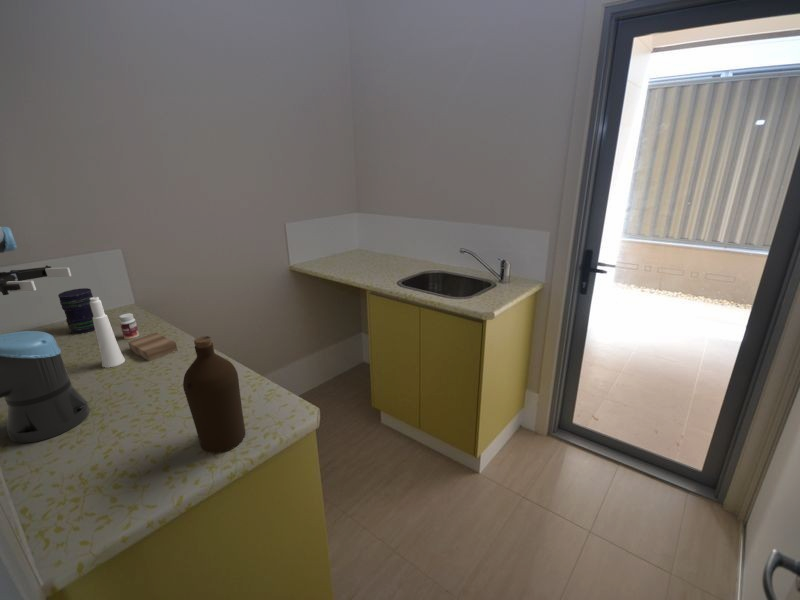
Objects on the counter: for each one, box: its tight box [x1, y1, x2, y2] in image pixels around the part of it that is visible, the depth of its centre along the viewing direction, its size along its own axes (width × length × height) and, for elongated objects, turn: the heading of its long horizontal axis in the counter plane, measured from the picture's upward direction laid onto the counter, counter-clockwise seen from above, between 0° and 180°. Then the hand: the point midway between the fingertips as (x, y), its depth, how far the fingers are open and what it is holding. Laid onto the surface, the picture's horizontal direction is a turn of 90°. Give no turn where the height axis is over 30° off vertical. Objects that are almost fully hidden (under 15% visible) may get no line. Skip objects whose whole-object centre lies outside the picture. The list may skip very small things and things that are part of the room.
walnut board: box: [127, 332, 178, 362], centre depth 132 cm, size 14×9×3 cm, turn 54°
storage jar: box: [57, 287, 95, 335], centre depth 149 cm, size 10×10×15 cm
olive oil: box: [182, 335, 246, 454], centre depth 85 cm, size 11×11×25 cm
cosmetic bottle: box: [90, 296, 126, 369], centre depth 121 cm, size 6×6×22 cm
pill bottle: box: [118, 312, 140, 340], centre depth 142 cm, size 5×5×8 cm
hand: (52, 278), depth 115 cm, fingers open, 13 cm apart
